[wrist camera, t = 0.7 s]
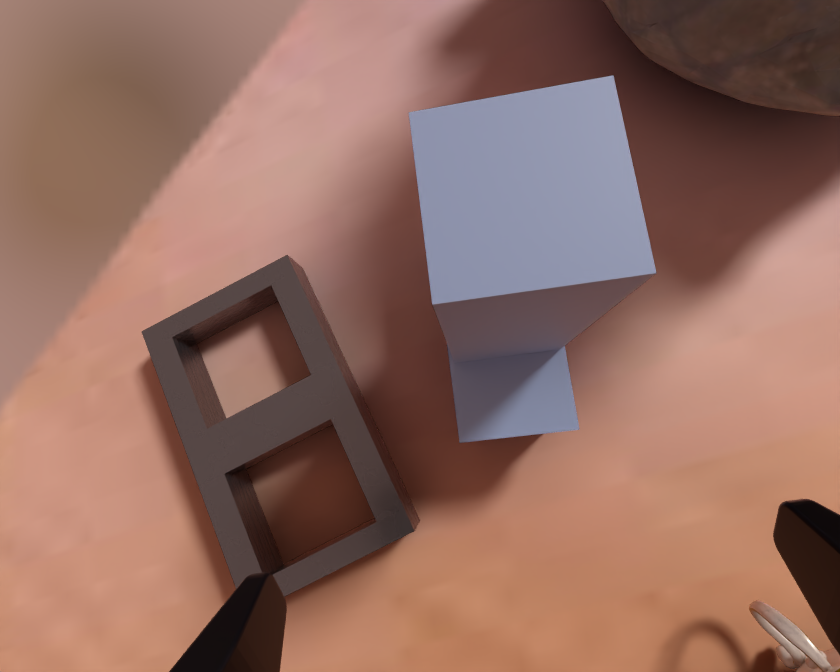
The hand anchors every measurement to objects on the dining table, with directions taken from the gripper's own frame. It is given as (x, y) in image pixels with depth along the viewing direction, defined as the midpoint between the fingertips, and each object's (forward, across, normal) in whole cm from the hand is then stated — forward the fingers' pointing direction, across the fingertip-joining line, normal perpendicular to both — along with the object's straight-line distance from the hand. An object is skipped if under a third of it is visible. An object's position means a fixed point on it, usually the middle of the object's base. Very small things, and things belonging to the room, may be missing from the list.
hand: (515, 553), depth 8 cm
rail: (+13, +10, +5) cm, 17 cm away
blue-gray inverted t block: (+15, -1, +3) cm, 15 cm away
